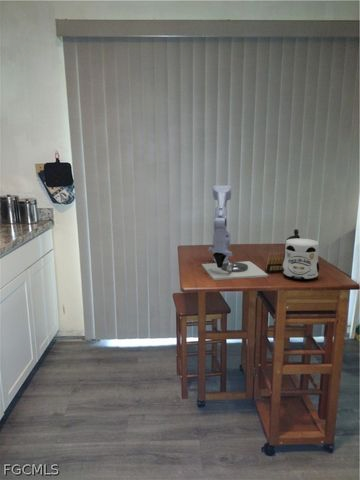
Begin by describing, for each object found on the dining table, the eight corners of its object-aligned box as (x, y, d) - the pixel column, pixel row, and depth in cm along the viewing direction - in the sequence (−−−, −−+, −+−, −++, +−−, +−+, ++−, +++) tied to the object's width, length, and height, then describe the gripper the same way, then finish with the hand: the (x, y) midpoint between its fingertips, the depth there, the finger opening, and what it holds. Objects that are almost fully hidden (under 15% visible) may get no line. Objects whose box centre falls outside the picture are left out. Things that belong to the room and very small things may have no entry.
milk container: (292, 283, 176) (294, 246, 172) (276, 273, 193) (277, 238, 189) (325, 281, 180) (328, 244, 176) (306, 270, 196) (308, 237, 192)
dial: (225, 263, 207) (225, 254, 206) (250, 266, 202) (250, 256, 200) (215, 272, 191) (215, 262, 190) (241, 275, 185) (242, 265, 184)
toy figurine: (303, 263, 215) (299, 249, 238) (305, 232, 210) (301, 221, 233) (286, 263, 217) (284, 249, 240) (288, 231, 211) (285, 220, 235)
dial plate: (201, 265, 208) (201, 263, 207) (250, 262, 212) (250, 261, 212) (213, 280, 182) (213, 278, 182) (268, 276, 187) (268, 274, 187)
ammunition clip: (265, 272, 194) (269, 252, 188) (264, 270, 195) (268, 251, 189) (285, 271, 195) (289, 252, 189) (284, 269, 197) (288, 250, 191)
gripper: (204, 240, 190) (204, 265, 193) (225, 244, 179) (224, 271, 182) (214, 238, 195) (213, 263, 198) (235, 242, 184) (234, 269, 187)
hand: (219, 267), depth 190 cm, fingers closed
